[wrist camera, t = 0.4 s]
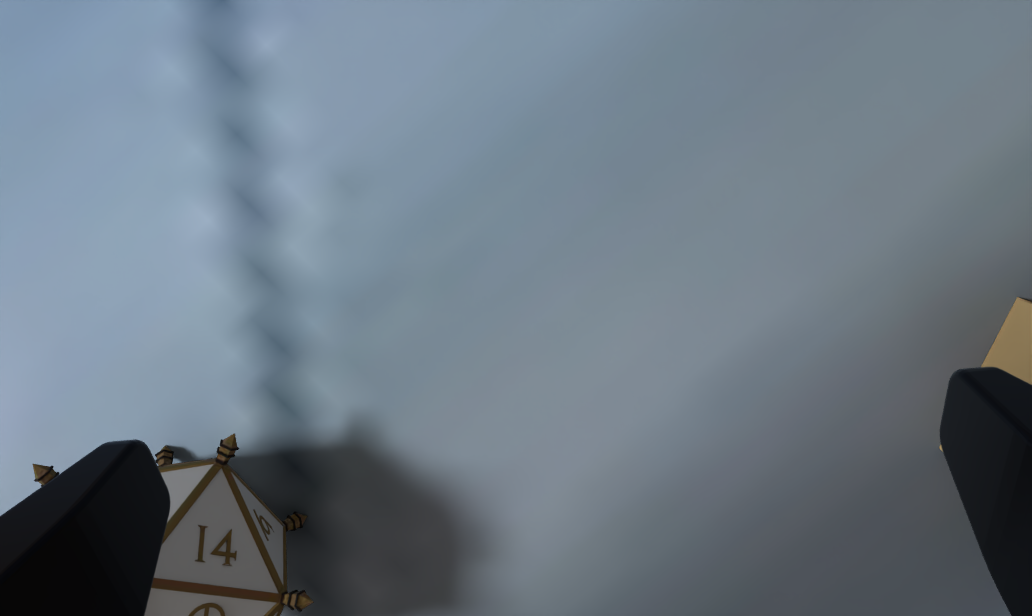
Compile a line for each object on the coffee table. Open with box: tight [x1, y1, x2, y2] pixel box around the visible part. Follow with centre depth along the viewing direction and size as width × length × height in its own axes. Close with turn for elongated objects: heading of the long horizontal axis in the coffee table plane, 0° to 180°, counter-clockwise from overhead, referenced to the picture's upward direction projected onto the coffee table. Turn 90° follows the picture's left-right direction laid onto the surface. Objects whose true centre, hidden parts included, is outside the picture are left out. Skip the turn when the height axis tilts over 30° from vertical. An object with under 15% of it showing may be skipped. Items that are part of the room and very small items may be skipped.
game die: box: [33, 433, 313, 616], centre depth 24 cm, size 9×8×10 cm
